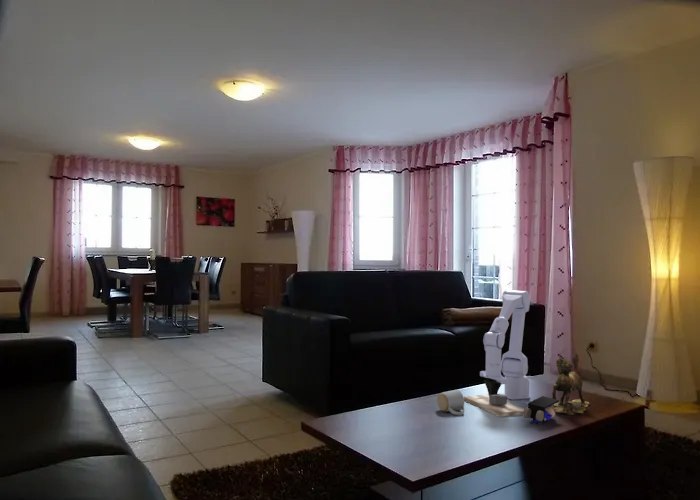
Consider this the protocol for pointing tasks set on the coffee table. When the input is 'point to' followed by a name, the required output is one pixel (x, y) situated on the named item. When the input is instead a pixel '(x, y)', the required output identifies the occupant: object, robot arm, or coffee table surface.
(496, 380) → the robot arm
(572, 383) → the figurine
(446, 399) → the ceramic mug
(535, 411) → the figurine character
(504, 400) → the fader tab
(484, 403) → the fader console
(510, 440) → the coffee table surface
